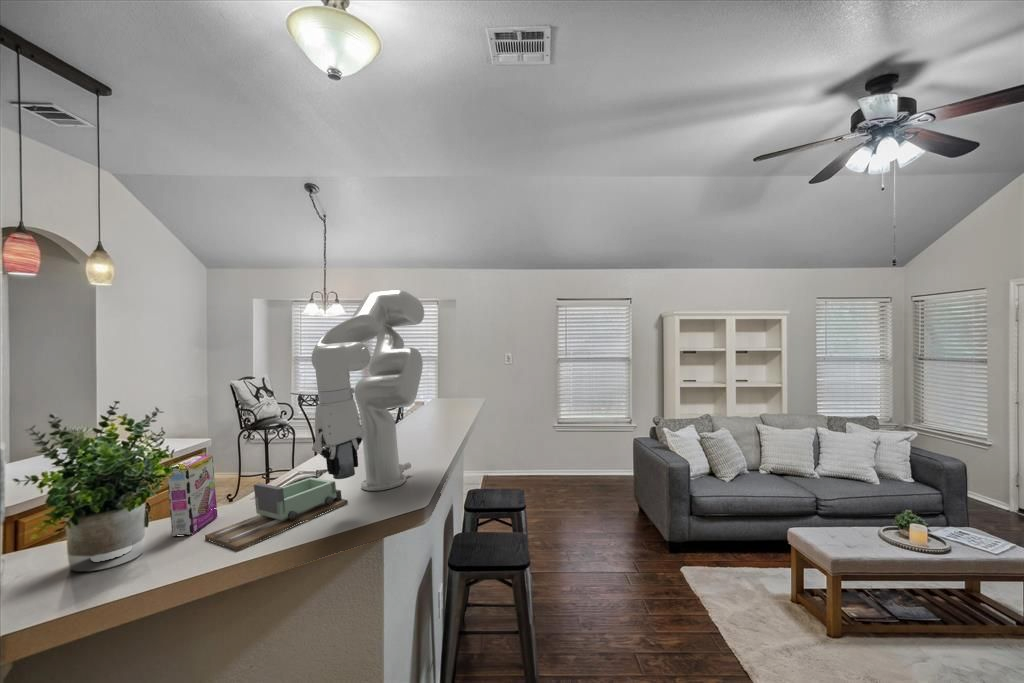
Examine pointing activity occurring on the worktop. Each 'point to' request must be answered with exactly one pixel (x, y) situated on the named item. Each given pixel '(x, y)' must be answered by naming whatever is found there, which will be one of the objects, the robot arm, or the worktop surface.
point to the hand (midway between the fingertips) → (343, 469)
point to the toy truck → (293, 497)
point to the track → (266, 526)
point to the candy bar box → (192, 495)
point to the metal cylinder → (344, 460)
